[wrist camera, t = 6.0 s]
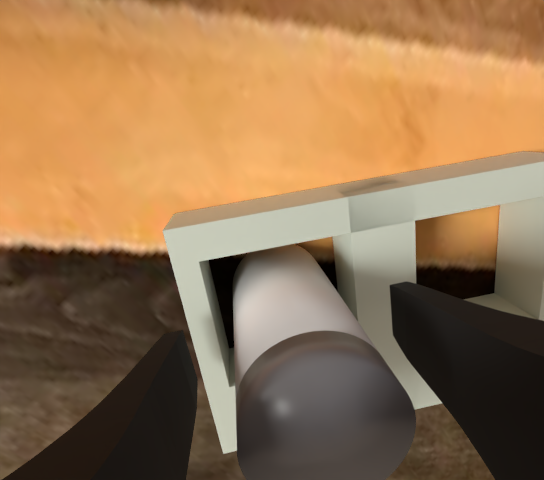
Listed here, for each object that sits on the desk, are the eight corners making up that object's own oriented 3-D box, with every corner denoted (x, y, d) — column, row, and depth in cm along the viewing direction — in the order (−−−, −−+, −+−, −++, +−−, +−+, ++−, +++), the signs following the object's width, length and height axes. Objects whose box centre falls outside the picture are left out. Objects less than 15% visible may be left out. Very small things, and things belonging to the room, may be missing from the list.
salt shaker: (314, 232, 14) (411, 343, 7) (326, 312, 16) (419, 481, 8) (223, 253, 14) (216, 391, 7) (243, 332, 15) (257, 525, 8)
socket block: (523, 151, 14) (586, 155, 12) (506, 345, 18) (554, 381, 15) (174, 213, 13) (161, 232, 11) (224, 408, 16) (223, 458, 14)
